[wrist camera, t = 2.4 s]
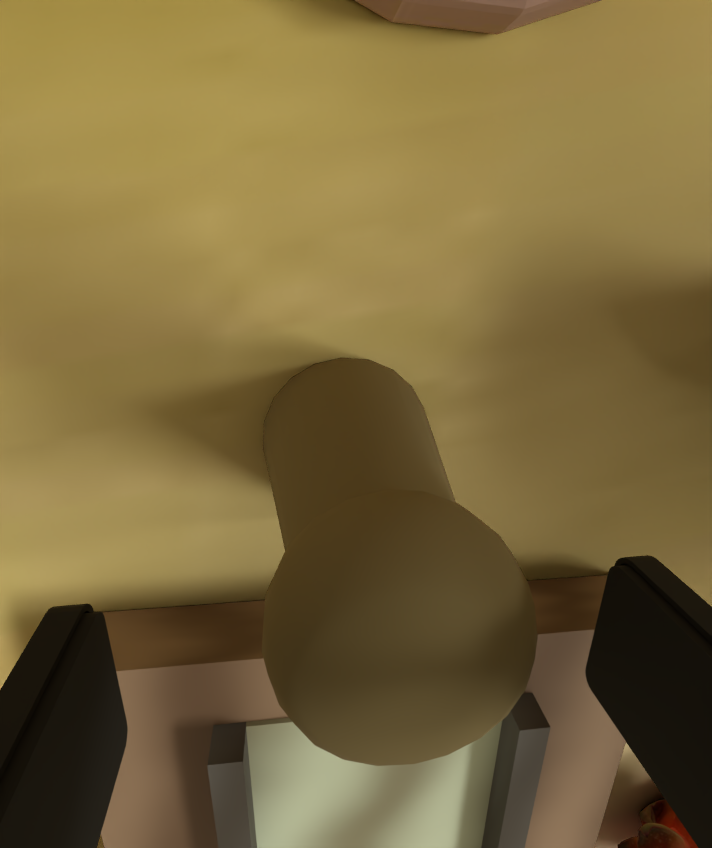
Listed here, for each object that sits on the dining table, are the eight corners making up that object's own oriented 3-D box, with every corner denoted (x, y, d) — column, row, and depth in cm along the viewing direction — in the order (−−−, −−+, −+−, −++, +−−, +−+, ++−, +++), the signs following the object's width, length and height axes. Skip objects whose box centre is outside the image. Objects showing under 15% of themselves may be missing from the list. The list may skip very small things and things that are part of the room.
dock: (614, 574, 22) (688, 653, 18) (551, 833, 29) (596, 935, 25) (90, 613, 20) (37, 716, 15) (152, 887, 26) (126, 1012, 22)
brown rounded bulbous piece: (233, 396, 17) (154, 640, 7) (397, 330, 17) (556, 481, 7) (302, 532, 20) (316, 863, 9) (447, 475, 19) (621, 748, 9)
